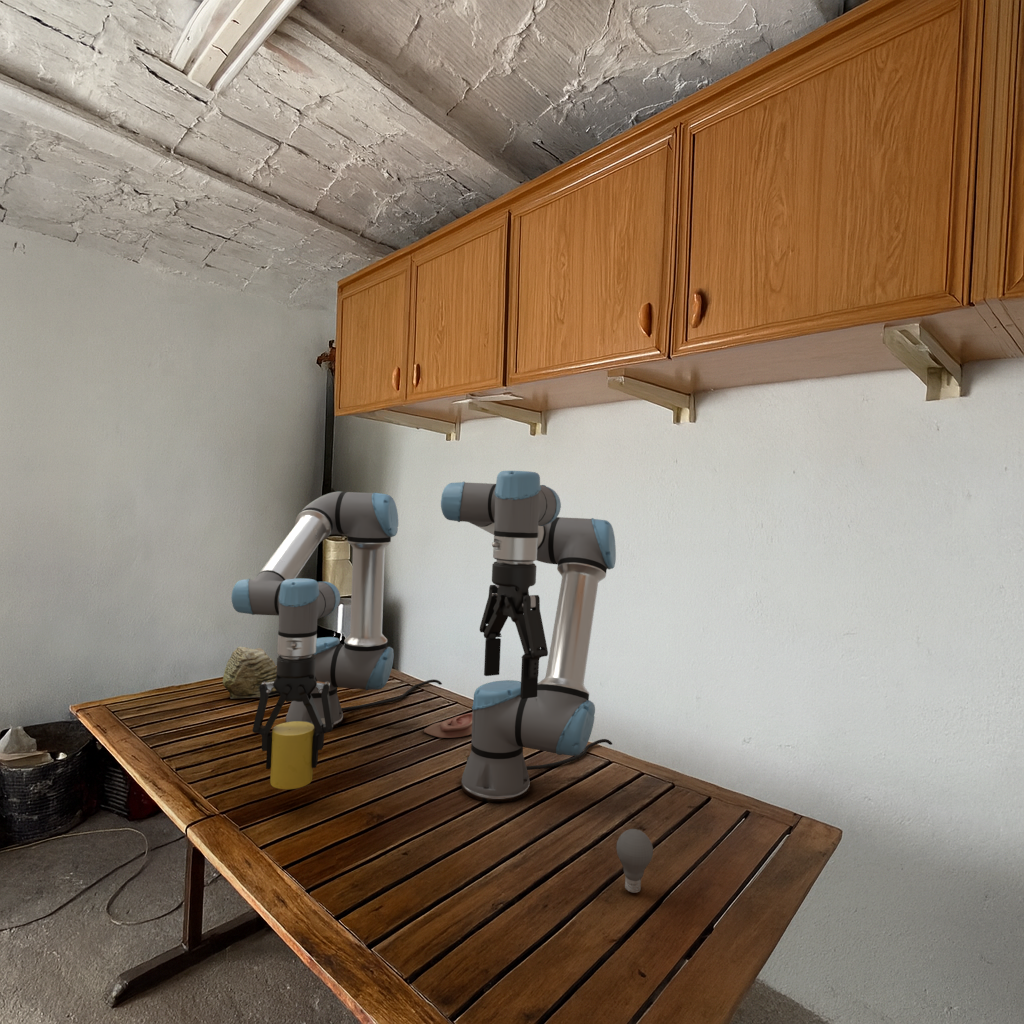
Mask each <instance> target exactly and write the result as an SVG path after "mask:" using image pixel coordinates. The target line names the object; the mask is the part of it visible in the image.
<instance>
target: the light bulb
mask: <svg viewBox="0 0 1024 1024" xmlns="http://www.w3.org/2000/svg"><path fill="white" fill-rule="evenodd" d="M615 849H616V854H617V857H618V859H619V861H620V863H621V865H622V867H623V873H624V874H623V875H624V876H625V878H624V888H625V890H627V891H628V892H630V893H634V894H635V893H639V892H640V891H641V889H642V887H641V886H642V879H643V877H644V875H645V871H646V868H647V867H648V866H649V864H650V863H651V861H652V859H653V855H654V847H653V843H652V841H651V838H649V836H648V835H647V834H646V833H645V832H643V831H642V830H641V829H636V828H629V829H627V830H625V831H623V832H622V833H621V834H620V835H619V837H618V839H617V841H616V847H615Z"/></svg>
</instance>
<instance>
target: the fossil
mask: <svg viewBox="0 0 1024 1024" xmlns="http://www.w3.org/2000/svg"><path fill="white" fill-rule="evenodd" d="M276 673H277V664H276V663H275V662H274V660H273V659H272V658H271V657H270V656H269V655H268V654H267V653H266V652H265V650H264V649H263V648H260V647H258V648H251V647H247V646H246V647H245V646H238V647H237V648H236V649H235V650H233V651H232V653H231V656H230V657H229V659H228V660H227V663H226V666H225V668H224V671H223V675H222V676H223V677H222V685H223V687H224V688H225V690H226V691H228V693H229V698H230V699H250V698H260V690H259V687H260V685H261V684H262V683H263V682H264V681H267V682H273V681H275V679H276ZM275 695H279V693H278V692H277V691H276V689H275V688H274V687H273V688H272V691H271V692H270V693H269V696H268V697H271V696H275Z"/></svg>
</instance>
